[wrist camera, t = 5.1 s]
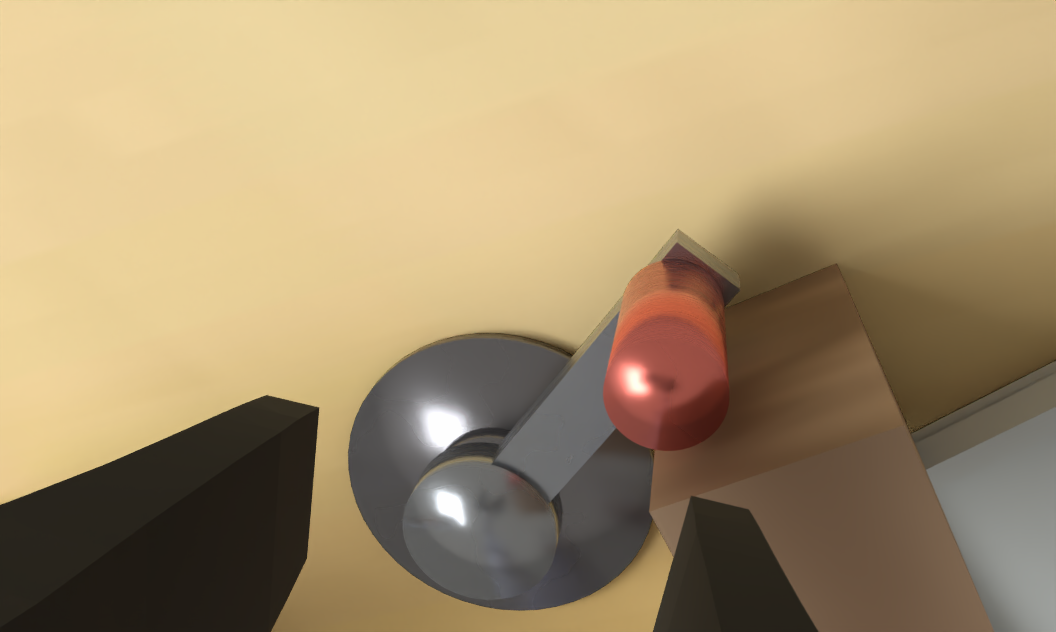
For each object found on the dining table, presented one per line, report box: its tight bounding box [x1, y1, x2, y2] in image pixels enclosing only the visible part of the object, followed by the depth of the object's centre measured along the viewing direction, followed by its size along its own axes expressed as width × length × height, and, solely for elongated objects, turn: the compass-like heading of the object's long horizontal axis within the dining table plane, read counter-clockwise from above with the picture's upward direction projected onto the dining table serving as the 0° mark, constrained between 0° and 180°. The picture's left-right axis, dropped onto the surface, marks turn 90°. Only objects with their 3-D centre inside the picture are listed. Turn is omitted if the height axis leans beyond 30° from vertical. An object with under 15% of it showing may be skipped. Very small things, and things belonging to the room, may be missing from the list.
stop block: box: [649, 264, 994, 632], centre depth 16 cm, size 4×4×6 cm
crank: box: [402, 229, 740, 600], centre depth 17 cm, size 9×3×4 cm, turn 144°
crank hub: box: [348, 334, 654, 610], centre depth 20 cm, size 7×7×1 cm
